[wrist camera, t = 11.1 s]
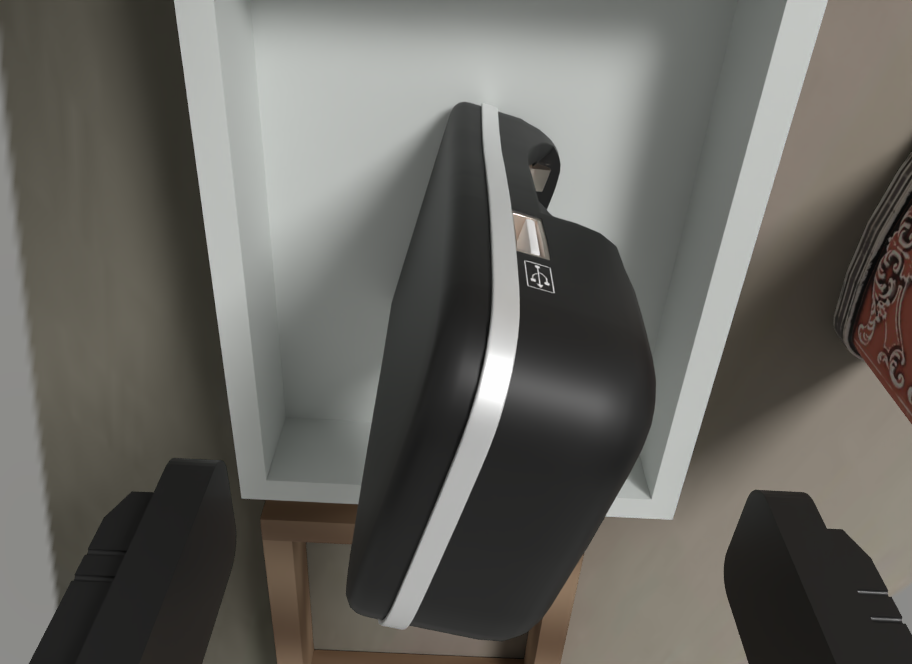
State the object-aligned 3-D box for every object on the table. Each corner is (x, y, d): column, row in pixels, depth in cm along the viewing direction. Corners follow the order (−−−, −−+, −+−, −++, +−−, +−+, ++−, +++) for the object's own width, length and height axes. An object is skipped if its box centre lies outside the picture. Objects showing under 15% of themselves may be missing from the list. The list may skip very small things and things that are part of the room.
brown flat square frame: (272, 477, 27) (259, 519, 26) (580, 492, 28) (587, 535, 26) (291, 662, 33) (282, 706, 32) (544, 673, 34) (548, 718, 32)
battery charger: (509, 344, 23) (537, 702, 14) (387, 311, 23) (328, 661, 13) (599, 129, 20) (724, 412, 10) (457, 83, 19) (447, 339, 10)
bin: (210, -129, 17) (157, -120, 14) (785, -91, 17) (850, -75, 14) (267, 422, 26) (241, 498, 23) (649, 442, 26) (672, 519, 23)
